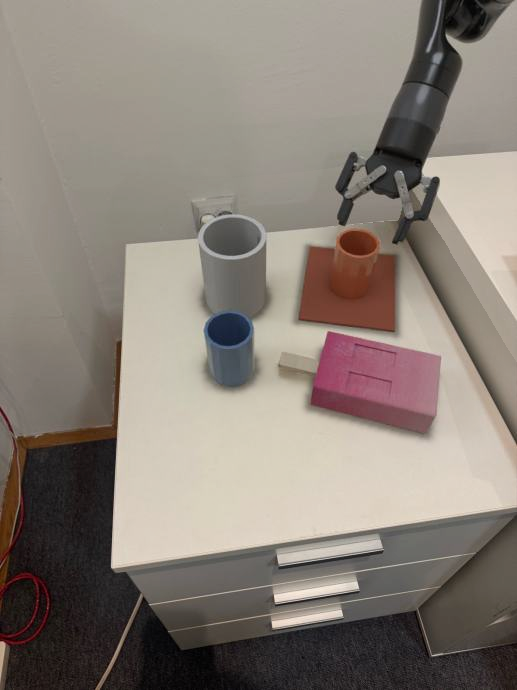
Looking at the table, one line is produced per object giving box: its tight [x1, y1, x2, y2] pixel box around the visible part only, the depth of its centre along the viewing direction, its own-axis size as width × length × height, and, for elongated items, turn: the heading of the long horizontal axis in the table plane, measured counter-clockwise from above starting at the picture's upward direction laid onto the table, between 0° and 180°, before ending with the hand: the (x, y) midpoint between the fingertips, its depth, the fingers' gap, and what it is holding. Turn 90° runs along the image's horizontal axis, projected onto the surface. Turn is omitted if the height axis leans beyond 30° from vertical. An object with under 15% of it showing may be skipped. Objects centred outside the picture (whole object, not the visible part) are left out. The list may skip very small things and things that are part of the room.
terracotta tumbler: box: [330, 228, 381, 299], centre depth 72 cm, size 6×6×8 cm
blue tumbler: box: [203, 310, 255, 388], centre depth 63 cm, size 6×6×8 cm
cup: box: [197, 213, 267, 318], centre depth 70 cm, size 9×9×12 cm
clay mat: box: [298, 245, 396, 333], centre depth 76 cm, size 14×16×1 cm
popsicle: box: [277, 330, 442, 434], centre depth 63 cm, size 9×5×20 cm
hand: (367, 234), depth 73 cm, fingers open, 8 cm apart
